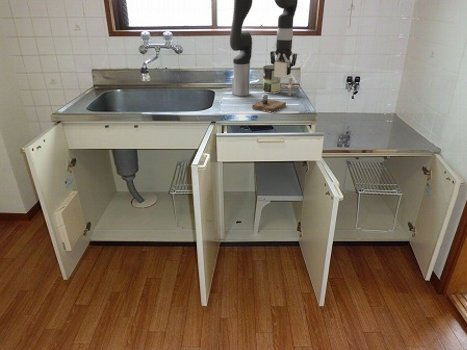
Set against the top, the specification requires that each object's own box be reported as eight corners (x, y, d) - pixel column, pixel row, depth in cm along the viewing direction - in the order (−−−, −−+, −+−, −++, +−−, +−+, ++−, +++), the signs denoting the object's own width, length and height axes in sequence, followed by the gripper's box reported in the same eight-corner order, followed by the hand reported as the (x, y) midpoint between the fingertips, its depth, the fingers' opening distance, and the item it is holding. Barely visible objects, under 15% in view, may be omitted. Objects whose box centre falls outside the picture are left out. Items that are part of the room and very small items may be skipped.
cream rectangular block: (274, 76, 173) (274, 60, 170) (279, 74, 178) (280, 58, 174) (284, 77, 170) (285, 62, 167) (290, 75, 175) (291, 60, 171)
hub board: (252, 108, 174) (252, 104, 173) (265, 102, 183) (265, 98, 182) (273, 112, 167) (273, 108, 166) (285, 106, 177) (286, 102, 176)
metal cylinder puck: (261, 103, 174) (261, 95, 172) (264, 102, 176) (264, 94, 174) (265, 104, 173) (266, 96, 171) (268, 103, 175) (268, 95, 173)
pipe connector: (298, 98, 190) (299, 79, 185) (279, 97, 191) (280, 79, 187) (298, 93, 198) (300, 75, 194) (281, 92, 200) (282, 75, 195)
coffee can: (261, 93, 199) (262, 68, 193) (263, 89, 208) (263, 64, 202) (279, 94, 198) (281, 68, 191) (280, 89, 207) (281, 65, 200)
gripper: (267, 38, 166) (266, 73, 174) (294, 40, 159) (292, 77, 167) (274, 36, 172) (273, 71, 180) (301, 38, 165) (298, 74, 173)
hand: (282, 73), depth 174 cm, fingers closed on cream rectangular block, 6 cm apart
